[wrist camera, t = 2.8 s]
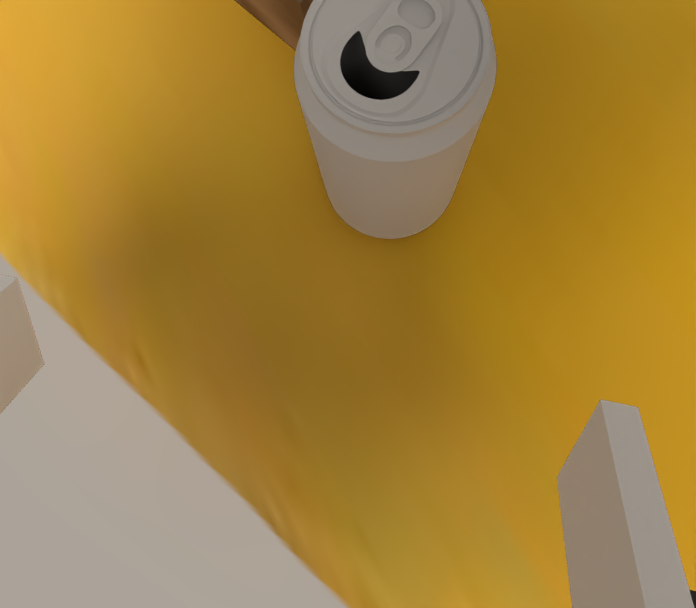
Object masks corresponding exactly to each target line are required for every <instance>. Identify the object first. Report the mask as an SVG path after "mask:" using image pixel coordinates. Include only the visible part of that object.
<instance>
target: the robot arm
mask: <svg viewBox="0 0 696 608" xmlns="http://www.w3.org/2000/svg"><path fill="white" fill-rule="evenodd" d="M43 365H44V361H43V359H42V355H41V352H40V349H39V345H38V342H37V339H36V336H35V333H34V330H33V327H32V323H31V320H30V317H29V314H28V311H27V307H26V304H25V301H24V298H23V295H22V292H21V289H20V285H19V282H18V279H17V278H15V277H10V276H5V275H0V414H1V412H2V411H3V410H4V409H5V408H6V407H7V406H8V405H9V403H10V402H11V401H12V400H13V399H14V398H15V397H16V395H17V394H18V393H19V392H20V391H21V390H22V389H23V388H24V387H25V385H26V384H27V383H28V382H29V381H30V380H31V379H32V377H33V376H34V375H35V374H36V373H37V372H38V371H39V369H40V368H41V367H42V366H43ZM557 482H558V490H559V499H560V507H561V516H562V524H563V533H564V542H565V550H566V559H567V567H568V576H569V584H570V593H571V601H572V608H696V591H692V590H689V587H688V583H687V580H686V576H685V573H684V569H683V566H682V562H681V558H680V555H679V551H678V548H677V544H676V541H675V537H674V534H673V530H672V526H671V523H670V519H669V516H668V512H667V509H666V505H665V502H664V498H663V494H662V491H661V487H660V484H659V480H658V477H657V473H656V470H655V466H654V463H653V459H652V455H651V452H650V448H649V445H648V441H647V438H646V434H645V431H644V427H643V423H642V420H641V416H640V413H639V409H638V407H634V406H630V405H625V404H620V403H615V402H610V401H606V400H600V401H599V403H598V405H597V407H596V408H595V410H594V412H593V414H592V416H591V417H590V419H589V421H588V423H587V425H586V426H585V428H584V430H583V432H582V434H581V435H580V437H579V439H578V441H577V442H576V444H575V446H574V448H573V450H572V451H571V453H570V455H569V457H568V459H567V460H566V462H565V464H564V466H563V468H562V469H561V471H560V473H559V475H558V476H557Z"/></svg>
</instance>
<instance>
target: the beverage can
mask: <svg viewBox="0 0 696 608" xmlns="http://www.w3.org/2000/svg"><path fill="white" fill-rule="evenodd" d="M496 68H497V63H496V52H495V46H494V42H493V39H492V33H491V26H490V22H489V18H488V15H487V12H486V10H485V7H484V5H483V3H482V1H481V0H313V2H312V3H311V5H310V7H309V9H308V11H307V14H306V16H305V19H304V22H303V26H302V30H301V36H300V38H299V41H298V44H297V48H296V52H295V58H294V80H295V87H296V92H297V95H298V98H299V102H300V105H301V108H302V112H303V115H304V118H305V122H306V125H307V129H308V132H309V135H310V139H311V142H312V145H313V149H314V152H315V155H316V159H317V162H318V165H319V169H320V172H321V175H322V179H323V182H324V186H325V189H326V192H327V195H328V197H329V200H330V202H331V204H332V206H333V208H334V210H335V211H336V213H337V214H338V215H339V216H340V217H341V219H342V220H343V221H345V222H346V223H347V224H348V225H349V226H351V227H352V228H354V229H355V230H357V231H359V232H361V233H363V234H366V235H368V236H371V237H376V238H382V239H397V238H404V237H408V236H411V235H414V234H416V233H419V232H421V231H423V230H424V229H426V228H428V227H429V226H430V225H432V224H433V223H434V222H435V221H436V220H437V219H438V218H439V217H440V216H441V215H442V214H443V213H444V211H445V210H446V208H447V207H448V205H449V203H450V201H451V199H452V196H453V194H454V191H455V189H456V186H457V183H458V181H459V178H460V176H461V173H462V170H463V168H464V165H465V163H466V160H467V157H468V155H469V152H470V150H471V147H472V144H473V142H474V139H475V137H476V134H477V131H478V129H479V126H480V124H481V121H482V119H483V116H484V113H485V111H486V108H487V106H488V103H489V100H490V98H491V95H492V92H493V88H494V84H495V78H496Z"/></svg>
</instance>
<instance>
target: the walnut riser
mask: <svg viewBox="0 0 696 608" xmlns="http://www.w3.org/2000/svg"><path fill="white" fill-rule="evenodd" d="M235 1H236V2H237V3H238V4H240V5H241V6H242V7H243V8H244V9H246V10H247V11H248V12H249V13H251V14H252V15H253V16H254V17H255V18H257V19H258V20H259V21H260V22H261V23H263V24H264V25H265V26H266V27H267V28H269V29H270V30H271V31H272V32H273V33H275V34H276V35H277V36H278V37H280V38H281V39H282V40H283V41H284V42H286V43H287V44H288V45H289V46H290V47H292V48H293V49H294V50H295V51H296V48H297V44H298V41H299V38H300V36H301V30H302V26H303V22H304V19H305V16H306V14H307V11H308V9H309V7H310V5H311V3H312V2H313V0H235Z"/></svg>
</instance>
